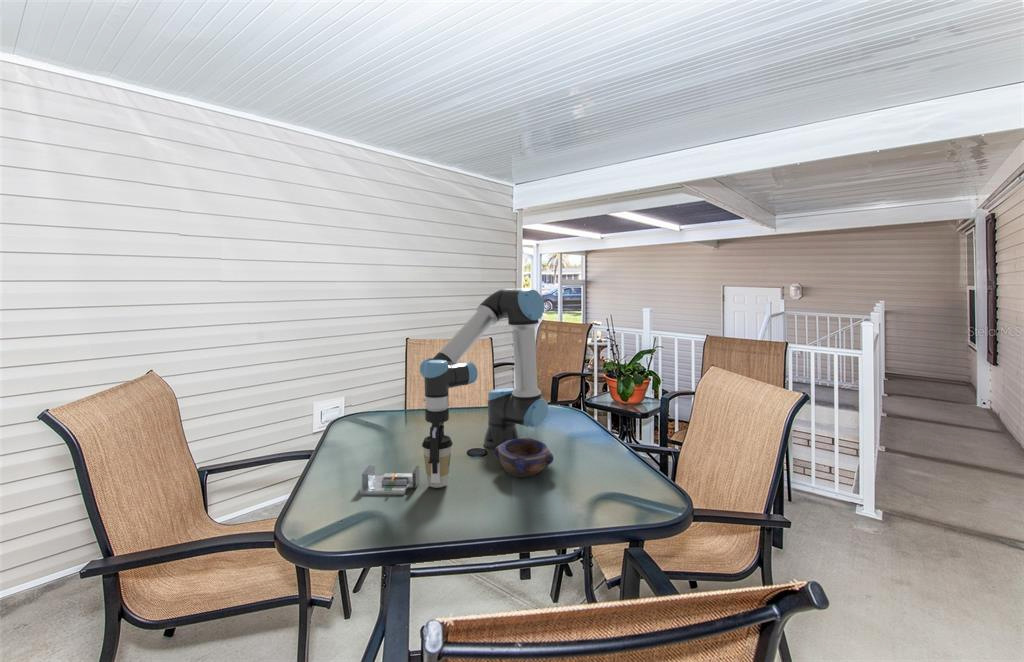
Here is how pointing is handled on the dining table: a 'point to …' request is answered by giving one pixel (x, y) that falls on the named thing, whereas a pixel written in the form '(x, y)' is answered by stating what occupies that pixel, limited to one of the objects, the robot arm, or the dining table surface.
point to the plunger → (405, 476)
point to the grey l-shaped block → (381, 484)
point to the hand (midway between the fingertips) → (437, 476)
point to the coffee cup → (444, 459)
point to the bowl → (523, 456)
